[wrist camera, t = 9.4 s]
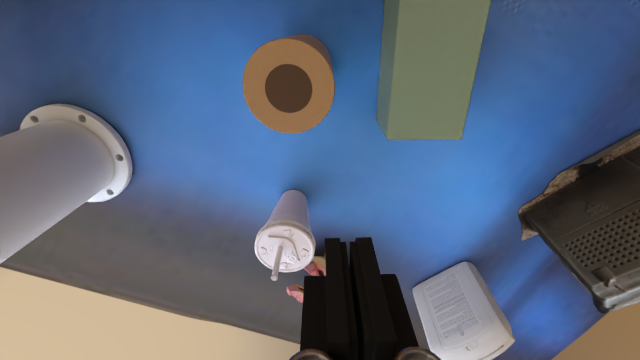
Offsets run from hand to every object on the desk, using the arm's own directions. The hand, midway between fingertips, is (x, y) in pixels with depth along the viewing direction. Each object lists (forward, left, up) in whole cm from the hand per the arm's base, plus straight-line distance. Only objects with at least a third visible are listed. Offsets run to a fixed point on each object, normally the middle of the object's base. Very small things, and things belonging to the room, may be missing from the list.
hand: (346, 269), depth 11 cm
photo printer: (+17, -27, -26) cm, 41 cm away
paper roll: (+1, +4, -25) cm, 25 cm away
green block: (+8, +4, -26) cm, 27 cm away
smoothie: (-5, -13, -26) cm, 29 cm away
